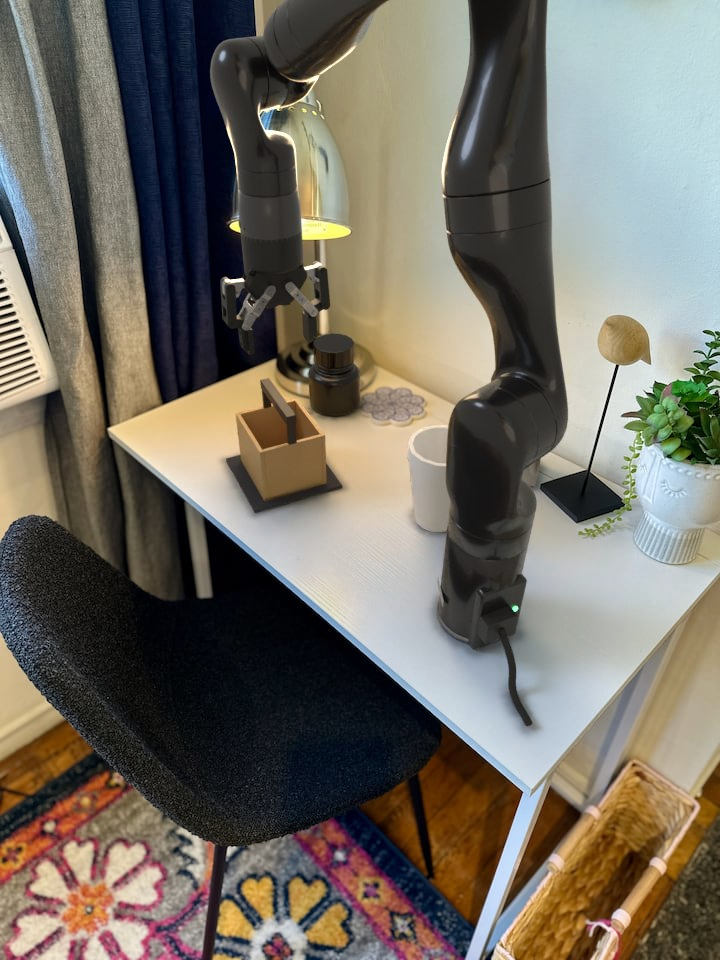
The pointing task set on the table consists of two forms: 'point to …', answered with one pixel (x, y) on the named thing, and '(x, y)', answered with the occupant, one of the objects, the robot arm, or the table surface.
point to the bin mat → (261, 505)
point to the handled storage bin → (281, 445)
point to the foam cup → (429, 477)
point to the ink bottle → (334, 376)
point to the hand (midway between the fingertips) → (279, 345)
